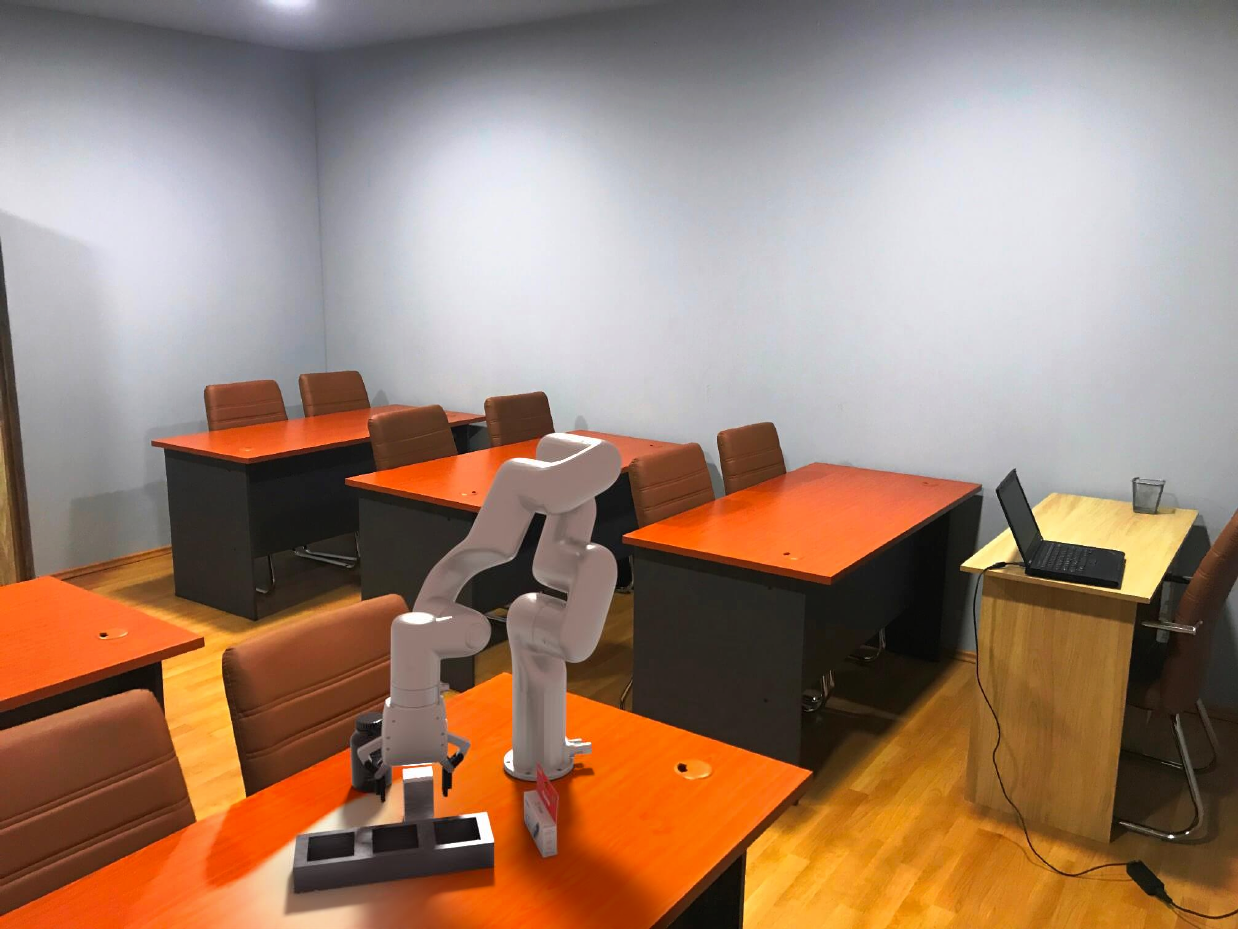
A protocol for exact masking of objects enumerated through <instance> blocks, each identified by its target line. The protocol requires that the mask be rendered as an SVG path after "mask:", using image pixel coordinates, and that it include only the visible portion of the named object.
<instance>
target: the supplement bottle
mask: <svg viewBox="0 0 1238 929" xmlns="http://www.w3.org/2000/svg"><path fill="white" fill-rule="evenodd" d="M382 719H383V713H380V712H377V711H376V712H375V711H374V712H373V711H372V712H371V711H370V712H365V713H361V714H358V715H357V716H356V718H355V728H354V730H355V731H354V732H353V733H352V735H351V736H350V739H349V746H350V747H349V748H350V749H349V750H350V768H351V785H352V787H353V788H354V789H355V790H357V791H358V792H363V793H372V792H376V778H375V777H374V775H373V774H372V773H370V772H369V771H368V770H367V769H366V768H365V767H364V765H363V763H362V762H361V760H360V758H359V756H358V748H360V747H362V746H364V745H365V744H367V743H369V742H371V741H373V740H375V739H376V738H378V737H380V736H381V732H382ZM369 756H370V758H371V759H373V760H374V761H375V762H376V763H377V762H378V761H379V760H380V759H381V758H382V753H381V748H379V749H377V750H376V751H374V752H372V753H370V754H369ZM385 779H386V788H388V786H390V785H391V784H392V782H393V767H390V768H389V769H388V770H387V772H386V773H385Z"/></svg>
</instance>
